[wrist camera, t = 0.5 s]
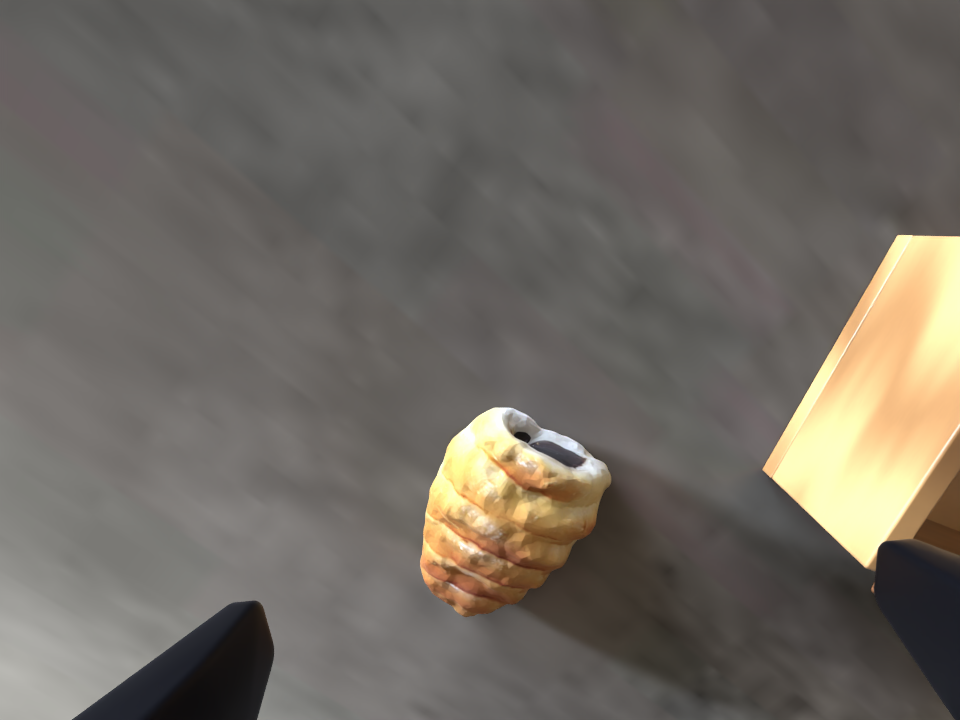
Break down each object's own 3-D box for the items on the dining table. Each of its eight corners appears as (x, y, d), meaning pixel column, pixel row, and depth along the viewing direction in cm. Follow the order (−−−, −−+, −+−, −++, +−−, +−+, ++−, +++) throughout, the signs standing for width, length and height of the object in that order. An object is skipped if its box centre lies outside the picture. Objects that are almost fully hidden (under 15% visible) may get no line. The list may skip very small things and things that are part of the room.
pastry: (516, 613, 25) (517, 679, 21) (390, 552, 25) (368, 609, 21) (616, 453, 23) (636, 496, 19) (478, 384, 22) (471, 414, 19)
